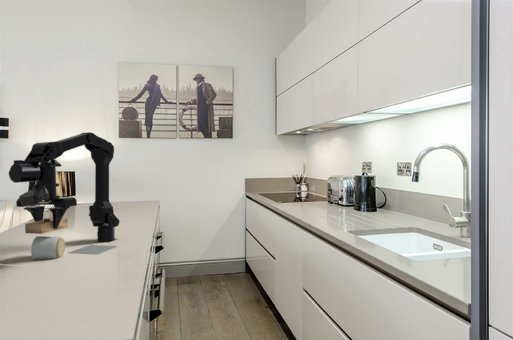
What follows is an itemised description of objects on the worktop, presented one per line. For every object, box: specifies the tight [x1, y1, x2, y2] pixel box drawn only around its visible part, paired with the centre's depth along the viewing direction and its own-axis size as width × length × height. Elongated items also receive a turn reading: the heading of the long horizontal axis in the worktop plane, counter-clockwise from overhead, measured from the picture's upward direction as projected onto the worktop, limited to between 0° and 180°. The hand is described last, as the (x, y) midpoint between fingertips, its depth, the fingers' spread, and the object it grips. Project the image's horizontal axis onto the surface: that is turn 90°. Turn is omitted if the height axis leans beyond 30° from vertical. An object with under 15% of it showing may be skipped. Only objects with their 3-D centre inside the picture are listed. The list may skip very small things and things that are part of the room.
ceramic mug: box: [30, 235, 66, 261], centre depth 118 cm, size 11×8×8 cm
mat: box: [67, 244, 119, 255], centre depth 126 cm, size 12×12×1 cm
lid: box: [24, 217, 69, 235], centre depth 116 cm, size 11×6×4 cm, turn 167°
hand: (47, 228), depth 116 cm, fingers closed on lid, 6 cm apart
